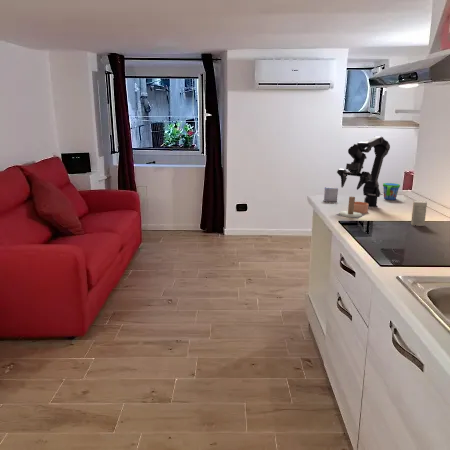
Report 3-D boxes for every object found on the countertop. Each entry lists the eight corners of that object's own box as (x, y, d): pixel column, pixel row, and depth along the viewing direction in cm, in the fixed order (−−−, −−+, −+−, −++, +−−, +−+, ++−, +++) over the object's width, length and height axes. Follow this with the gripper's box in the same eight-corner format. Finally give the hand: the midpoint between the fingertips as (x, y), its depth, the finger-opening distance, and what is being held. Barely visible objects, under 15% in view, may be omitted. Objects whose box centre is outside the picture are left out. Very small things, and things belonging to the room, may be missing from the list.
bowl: (364, 210, 256) (365, 201, 255) (369, 214, 246) (370, 205, 245) (347, 209, 256) (348, 201, 255) (352, 213, 246) (352, 204, 245)
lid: (358, 212, 247) (360, 195, 244) (364, 217, 235) (366, 199, 232) (336, 212, 247) (338, 194, 244) (342, 217, 235) (343, 198, 232)
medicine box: (336, 200, 282) (337, 187, 280) (337, 201, 278) (338, 188, 276) (323, 200, 283) (324, 186, 281) (324, 201, 278) (325, 188, 276)
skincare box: (423, 224, 226) (427, 201, 223) (424, 226, 222) (427, 203, 219) (410, 223, 228) (413, 200, 225) (410, 225, 224) (414, 201, 221)
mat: (343, 212, 249) (343, 211, 249) (365, 215, 242) (365, 214, 242) (335, 216, 239) (335, 215, 239) (357, 219, 232) (357, 218, 232)
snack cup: (385, 196, 300) (387, 181, 297) (401, 198, 294) (403, 183, 291) (377, 199, 288) (379, 184, 285) (393, 202, 282) (395, 186, 279)
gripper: (337, 155, 245) (328, 180, 244) (369, 158, 233) (359, 185, 231) (345, 163, 254) (336, 188, 252) (375, 166, 242) (367, 192, 240)
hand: (349, 188), depth 244 cm, fingers open, 9 cm apart
